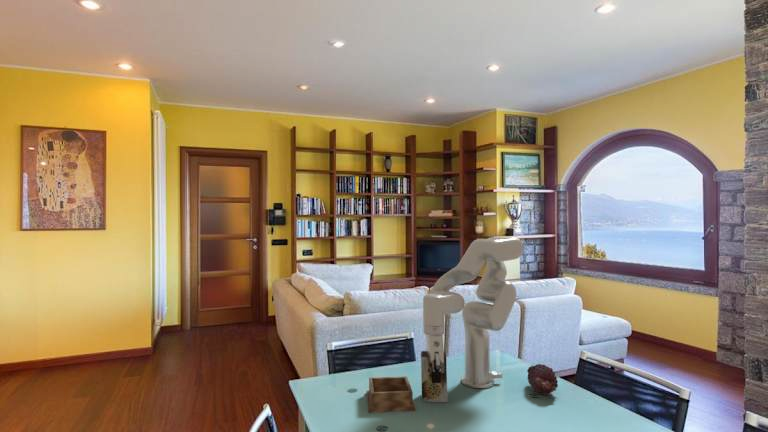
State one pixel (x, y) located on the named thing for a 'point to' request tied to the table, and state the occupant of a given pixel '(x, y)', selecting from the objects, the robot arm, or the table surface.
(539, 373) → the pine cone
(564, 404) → the table surface
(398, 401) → the holder
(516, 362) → the table surface
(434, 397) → the coffee box
